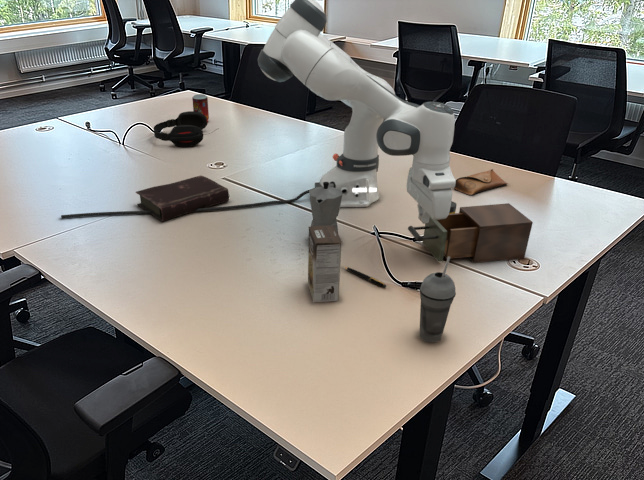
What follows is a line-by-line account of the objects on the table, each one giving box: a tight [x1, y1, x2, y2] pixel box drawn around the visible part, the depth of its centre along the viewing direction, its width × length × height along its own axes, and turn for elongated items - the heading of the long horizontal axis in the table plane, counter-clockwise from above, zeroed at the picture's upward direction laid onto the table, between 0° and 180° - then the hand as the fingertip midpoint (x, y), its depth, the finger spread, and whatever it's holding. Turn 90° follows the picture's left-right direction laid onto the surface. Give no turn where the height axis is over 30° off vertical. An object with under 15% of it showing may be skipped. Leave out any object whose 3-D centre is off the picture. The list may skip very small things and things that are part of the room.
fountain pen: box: [343, 266, 388, 288], centre depth 150 cm, size 14×1×2 cm, turn 41°
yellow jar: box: [449, 200, 458, 214], centre depth 173 cm, size 5×5×7 cm
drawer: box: [407, 212, 479, 263], centre depth 157 cm, size 19×11×9 cm, turn 97°
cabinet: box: [458, 202, 534, 264], centre depth 158 cm, size 14×13×11 cm
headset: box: [153, 110, 218, 148], centre depth 253 cm, size 28×26×9 cm
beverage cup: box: [419, 256, 457, 344], centre depth 123 cm, size 7×7×20 cm
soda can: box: [191, 93, 210, 121], centre depth 275 cm, size 7×7×12 cm
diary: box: [135, 175, 230, 222], centre depth 193 cm, size 19×25×5 cm
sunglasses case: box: [453, 168, 508, 196], centre depth 199 cm, size 18×7×7 cm, turn 120°
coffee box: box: [307, 225, 343, 303], centre depth 140 cm, size 9×6×16 cm
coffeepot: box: [308, 181, 343, 241], centre depth 164 cm, size 15×9×18 cm, turn 159°
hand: (423, 221), depth 154 cm, fingers closed
